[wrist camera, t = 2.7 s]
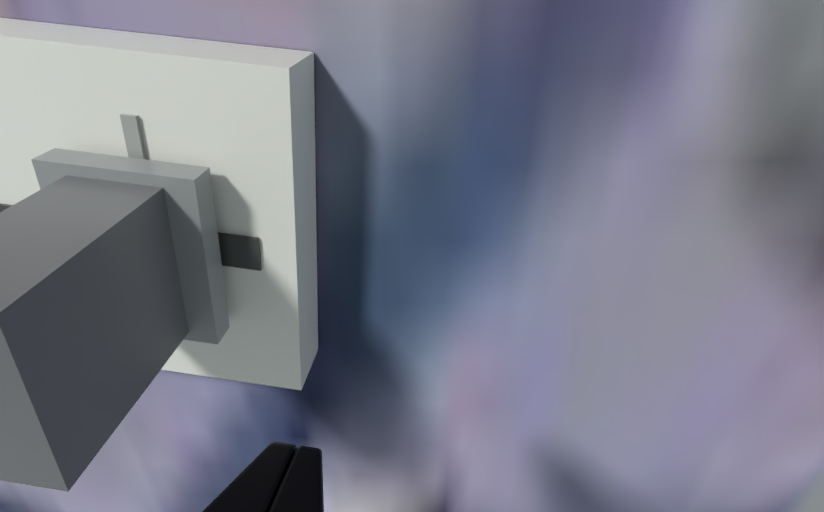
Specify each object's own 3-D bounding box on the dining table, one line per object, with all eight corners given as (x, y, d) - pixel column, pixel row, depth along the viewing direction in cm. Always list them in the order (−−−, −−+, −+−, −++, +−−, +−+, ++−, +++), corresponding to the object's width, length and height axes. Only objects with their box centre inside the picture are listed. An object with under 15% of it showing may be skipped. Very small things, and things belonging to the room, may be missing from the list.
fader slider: (209, 167, 13) (38, 307, 8) (229, 326, 16) (109, 507, 11) (54, 147, 13) (-205, 272, 8) (99, 308, 16) (-77, 475, 11)
